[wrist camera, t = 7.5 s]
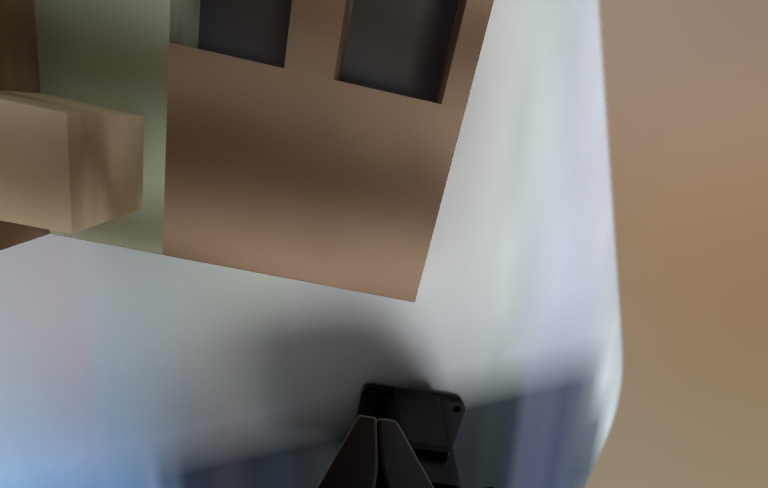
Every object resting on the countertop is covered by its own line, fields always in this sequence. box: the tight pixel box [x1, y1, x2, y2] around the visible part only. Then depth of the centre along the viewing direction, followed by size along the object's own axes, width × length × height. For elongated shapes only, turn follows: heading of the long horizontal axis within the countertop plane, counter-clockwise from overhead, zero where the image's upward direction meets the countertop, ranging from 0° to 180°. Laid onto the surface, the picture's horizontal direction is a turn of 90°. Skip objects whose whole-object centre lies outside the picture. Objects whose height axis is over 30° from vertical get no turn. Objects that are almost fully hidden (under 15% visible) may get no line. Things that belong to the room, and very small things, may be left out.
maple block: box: [0, 90, 144, 234], centre depth 14 cm, size 4×4×4 cm
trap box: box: [0, 0, 494, 302], centre depth 15 cm, size 15×18×6 cm
